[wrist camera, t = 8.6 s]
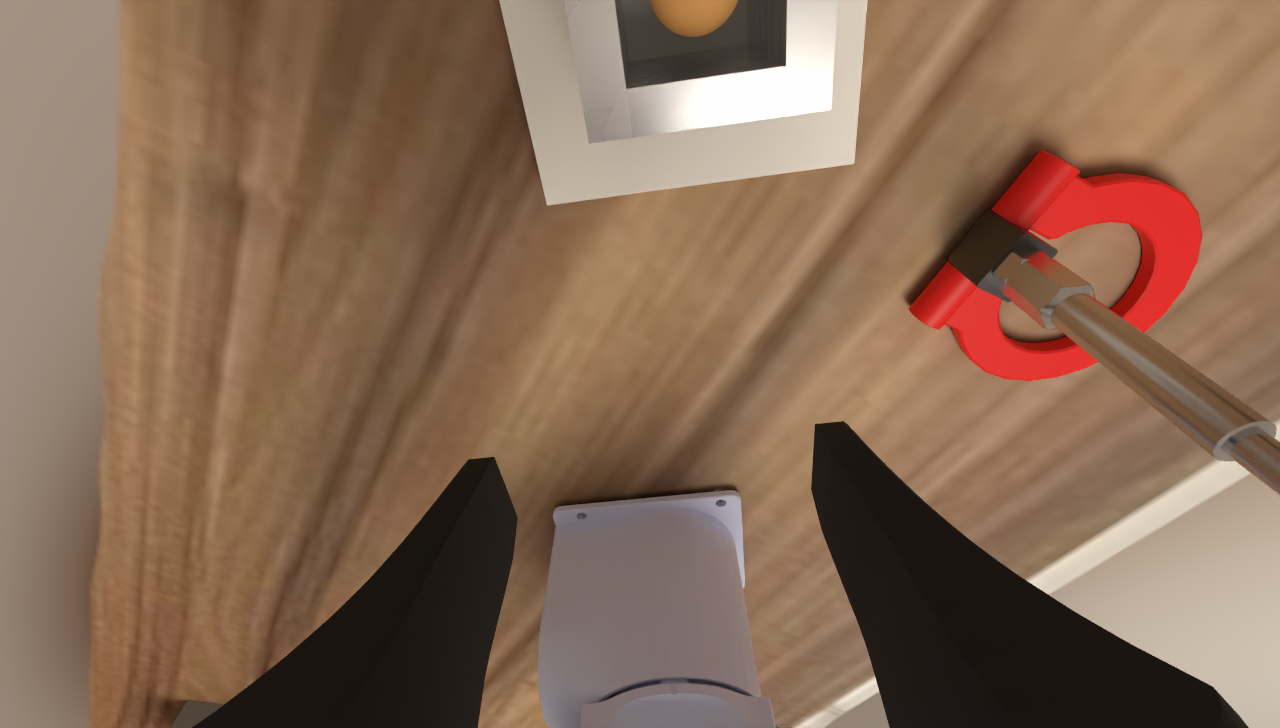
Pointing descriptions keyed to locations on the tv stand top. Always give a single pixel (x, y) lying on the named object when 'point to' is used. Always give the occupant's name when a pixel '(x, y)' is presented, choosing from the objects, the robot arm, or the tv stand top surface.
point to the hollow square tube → (703, 71)
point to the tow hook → (1092, 301)
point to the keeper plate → (661, 26)
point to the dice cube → (194, 713)
